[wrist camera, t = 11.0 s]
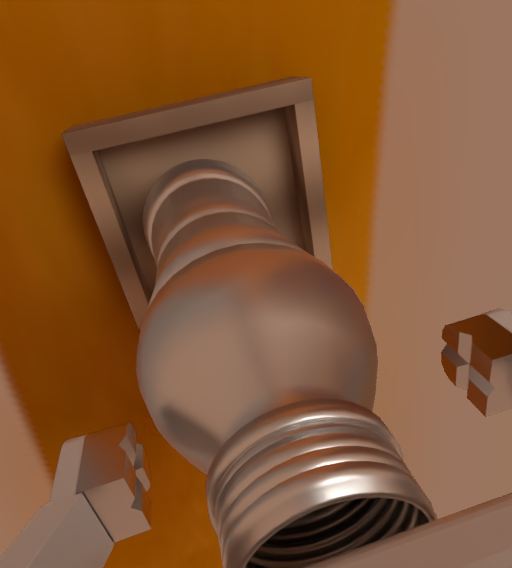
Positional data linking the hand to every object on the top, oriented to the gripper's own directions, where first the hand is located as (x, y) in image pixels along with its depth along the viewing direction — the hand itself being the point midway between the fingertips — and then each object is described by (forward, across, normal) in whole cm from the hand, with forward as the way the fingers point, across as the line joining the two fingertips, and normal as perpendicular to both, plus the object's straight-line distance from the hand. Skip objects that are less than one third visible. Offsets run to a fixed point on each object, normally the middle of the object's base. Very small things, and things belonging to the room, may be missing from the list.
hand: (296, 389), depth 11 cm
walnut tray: (+17, 0, 0) cm, 17 cm away
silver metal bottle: (+16, +1, 0) cm, 16 cm away
